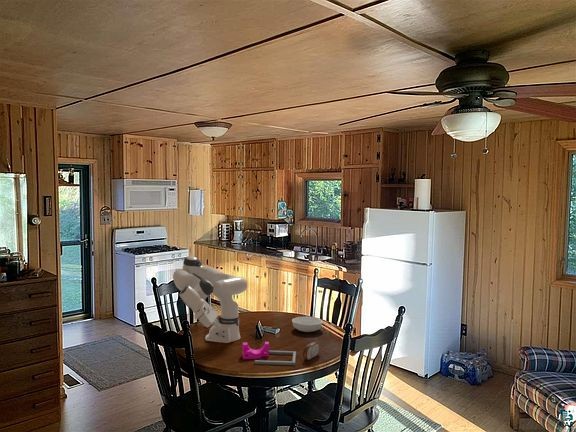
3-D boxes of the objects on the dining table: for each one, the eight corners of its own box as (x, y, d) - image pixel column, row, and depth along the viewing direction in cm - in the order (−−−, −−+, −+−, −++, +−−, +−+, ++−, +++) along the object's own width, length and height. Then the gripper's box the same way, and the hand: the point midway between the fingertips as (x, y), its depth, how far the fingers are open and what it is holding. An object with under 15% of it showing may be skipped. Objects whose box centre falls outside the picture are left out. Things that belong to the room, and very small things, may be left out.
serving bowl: (320, 336, 289) (320, 326, 288) (289, 333, 293) (289, 323, 292) (323, 326, 309) (324, 317, 309) (294, 324, 313) (295, 315, 313)
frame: (254, 363, 240) (254, 361, 240) (258, 352, 257) (258, 350, 257) (294, 365, 239) (294, 362, 239) (296, 353, 256) (296, 351, 256)
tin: (315, 353, 258) (316, 339, 257) (320, 354, 256) (320, 340, 256) (302, 361, 245) (302, 346, 245) (306, 362, 244) (307, 347, 243)
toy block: (242, 359, 247) (243, 346, 246) (242, 355, 253) (242, 342, 253) (269, 358, 249) (269, 345, 249) (268, 354, 255) (268, 341, 255)
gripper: (203, 308, 259) (219, 325, 259) (194, 318, 239) (211, 336, 239) (210, 301, 259) (226, 317, 259) (202, 310, 239) (219, 328, 239)
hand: (219, 326), depth 249 cm, fingers closed
